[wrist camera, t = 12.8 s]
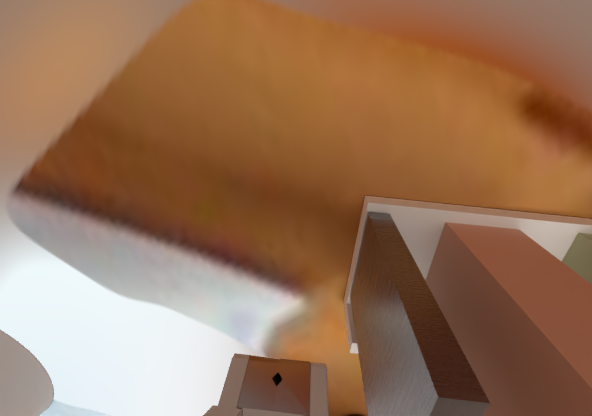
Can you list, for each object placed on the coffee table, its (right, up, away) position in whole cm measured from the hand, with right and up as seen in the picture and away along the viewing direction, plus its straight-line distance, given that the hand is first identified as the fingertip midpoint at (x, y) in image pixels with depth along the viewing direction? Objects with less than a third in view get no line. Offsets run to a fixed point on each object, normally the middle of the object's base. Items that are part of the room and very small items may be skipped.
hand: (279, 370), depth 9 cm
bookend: (+5, +2, +8) cm, 9 cm away
